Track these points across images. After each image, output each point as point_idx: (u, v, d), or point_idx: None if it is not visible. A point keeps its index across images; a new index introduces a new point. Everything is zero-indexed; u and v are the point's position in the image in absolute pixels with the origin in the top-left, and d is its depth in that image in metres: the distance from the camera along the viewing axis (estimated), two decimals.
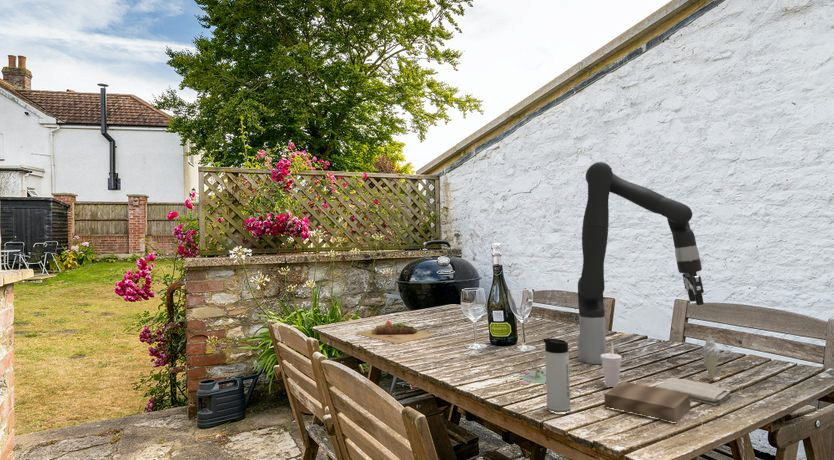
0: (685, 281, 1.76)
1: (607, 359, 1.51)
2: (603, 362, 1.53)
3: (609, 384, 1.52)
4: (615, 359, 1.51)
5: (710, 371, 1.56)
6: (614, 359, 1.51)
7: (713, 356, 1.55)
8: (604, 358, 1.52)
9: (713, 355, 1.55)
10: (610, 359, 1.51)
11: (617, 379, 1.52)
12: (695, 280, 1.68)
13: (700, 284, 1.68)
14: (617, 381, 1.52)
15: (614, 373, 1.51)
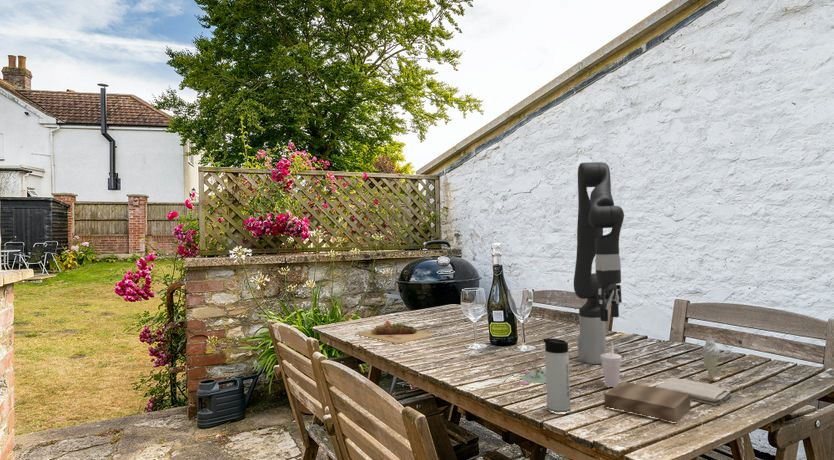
0: None
1: (607, 359, 1.51)
2: (603, 362, 1.53)
3: (609, 384, 1.52)
4: (615, 359, 1.51)
5: (710, 371, 1.56)
6: (614, 359, 1.51)
7: (713, 356, 1.55)
8: (604, 358, 1.52)
9: (713, 355, 1.55)
10: (610, 359, 1.51)
11: (617, 379, 1.52)
12: (597, 293, 1.49)
13: (602, 298, 1.48)
14: (617, 381, 1.52)
15: (614, 373, 1.51)
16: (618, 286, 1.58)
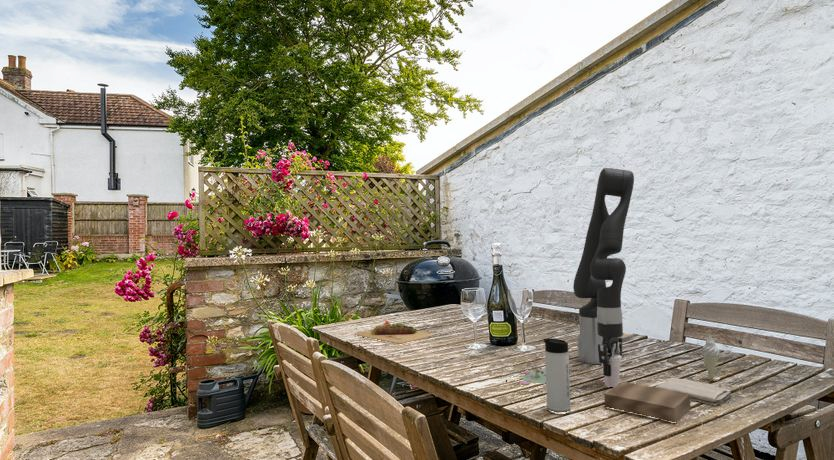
0: None
1: None
2: None
3: (609, 384, 1.52)
4: (615, 359, 1.51)
5: (710, 371, 1.56)
6: (614, 359, 1.51)
7: (713, 356, 1.55)
8: None
9: (713, 355, 1.55)
10: None
11: (617, 379, 1.52)
12: (599, 349, 1.49)
13: (604, 355, 1.49)
14: (617, 381, 1.52)
15: (614, 373, 1.51)
16: (620, 339, 1.57)
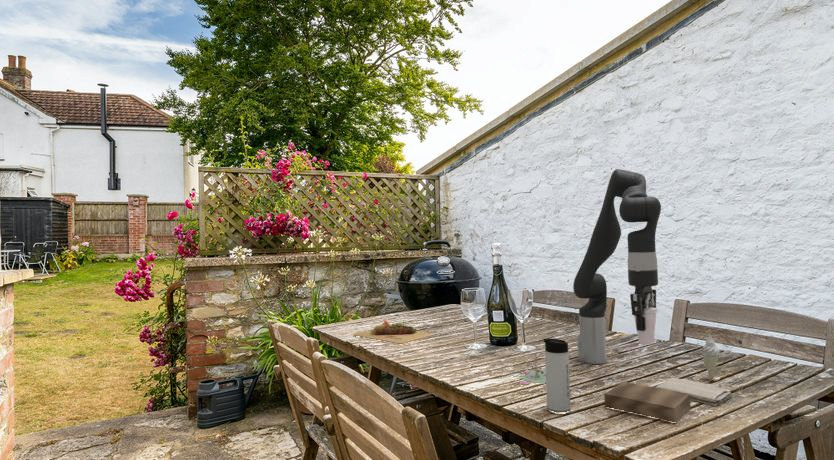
0: None
1: None
2: None
3: (643, 340, 1.33)
4: (650, 311, 1.31)
5: (710, 371, 1.56)
6: (649, 311, 1.31)
7: (713, 356, 1.55)
8: None
9: (713, 355, 1.55)
10: None
11: (652, 334, 1.32)
12: (632, 299, 1.30)
13: (638, 305, 1.29)
14: (652, 337, 1.33)
15: (650, 327, 1.32)
16: (653, 291, 1.38)
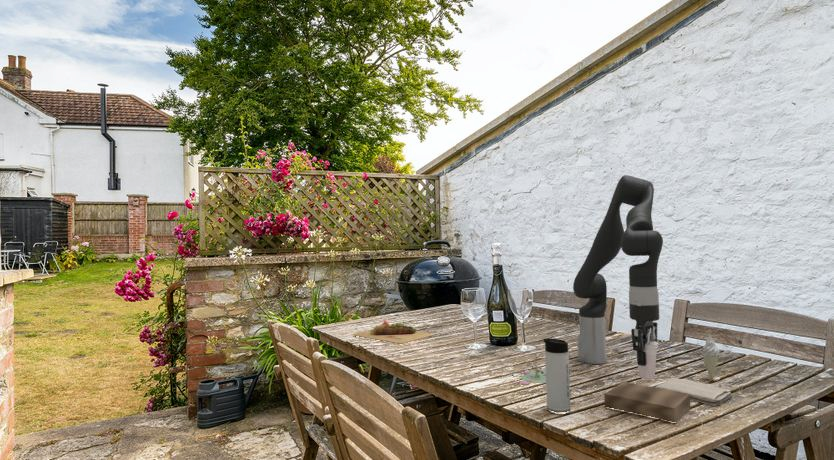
0: None
1: None
2: None
3: (644, 374, 1.33)
4: (651, 346, 1.31)
5: (710, 371, 1.56)
6: (650, 346, 1.31)
7: (713, 356, 1.55)
8: None
9: (713, 355, 1.55)
10: None
11: (653, 369, 1.32)
12: (633, 334, 1.30)
13: (639, 341, 1.29)
14: (653, 371, 1.32)
15: (650, 362, 1.32)
16: (655, 324, 1.38)
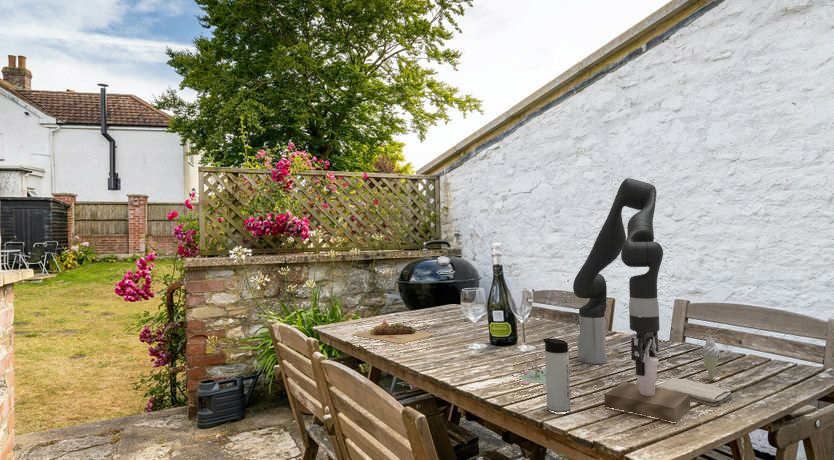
0: None
1: None
2: None
3: (644, 391, 1.33)
4: (651, 363, 1.31)
5: (710, 371, 1.56)
6: (650, 363, 1.31)
7: (713, 356, 1.55)
8: None
9: (713, 355, 1.55)
10: (646, 363, 1.31)
11: (653, 385, 1.32)
12: (633, 343, 1.30)
13: (638, 350, 1.29)
14: (653, 388, 1.32)
15: (651, 379, 1.32)
16: (655, 333, 1.38)
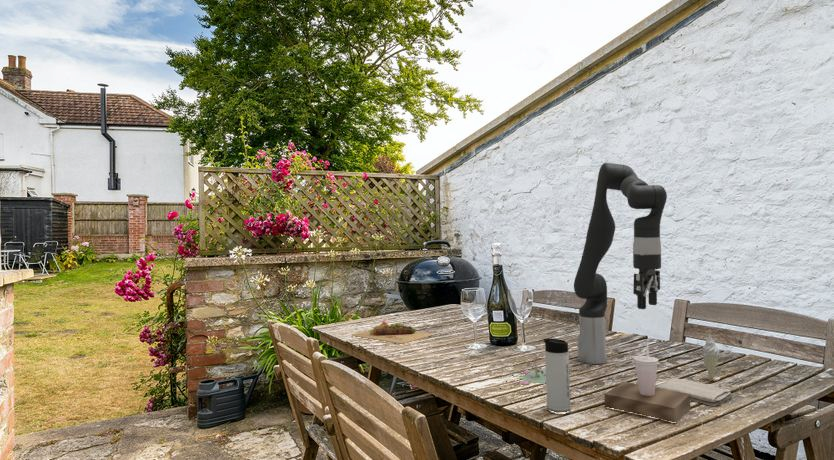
0: None
1: (642, 362, 1.32)
2: (637, 366, 1.34)
3: (644, 391, 1.33)
4: (651, 362, 1.31)
5: (710, 371, 1.56)
6: (650, 362, 1.31)
7: (713, 356, 1.55)
8: (638, 361, 1.33)
9: (713, 355, 1.55)
10: (646, 363, 1.31)
11: (653, 385, 1.32)
12: (635, 278, 1.39)
13: (640, 284, 1.38)
14: (653, 388, 1.32)
15: (651, 379, 1.32)
16: (657, 272, 1.47)
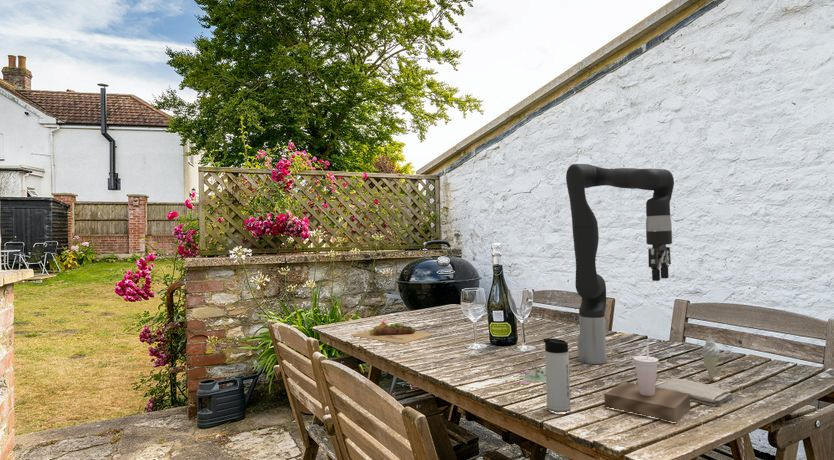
0: None
1: (642, 363, 1.32)
2: (637, 366, 1.34)
3: (644, 391, 1.33)
4: (651, 363, 1.31)
5: (710, 371, 1.56)
6: (650, 363, 1.31)
7: (713, 356, 1.55)
8: (638, 361, 1.33)
9: (714, 355, 1.55)
10: (646, 363, 1.31)
11: (653, 385, 1.32)
12: (650, 252, 1.53)
13: (654, 258, 1.52)
14: (653, 388, 1.32)
15: (651, 379, 1.32)
16: (667, 248, 1.61)
